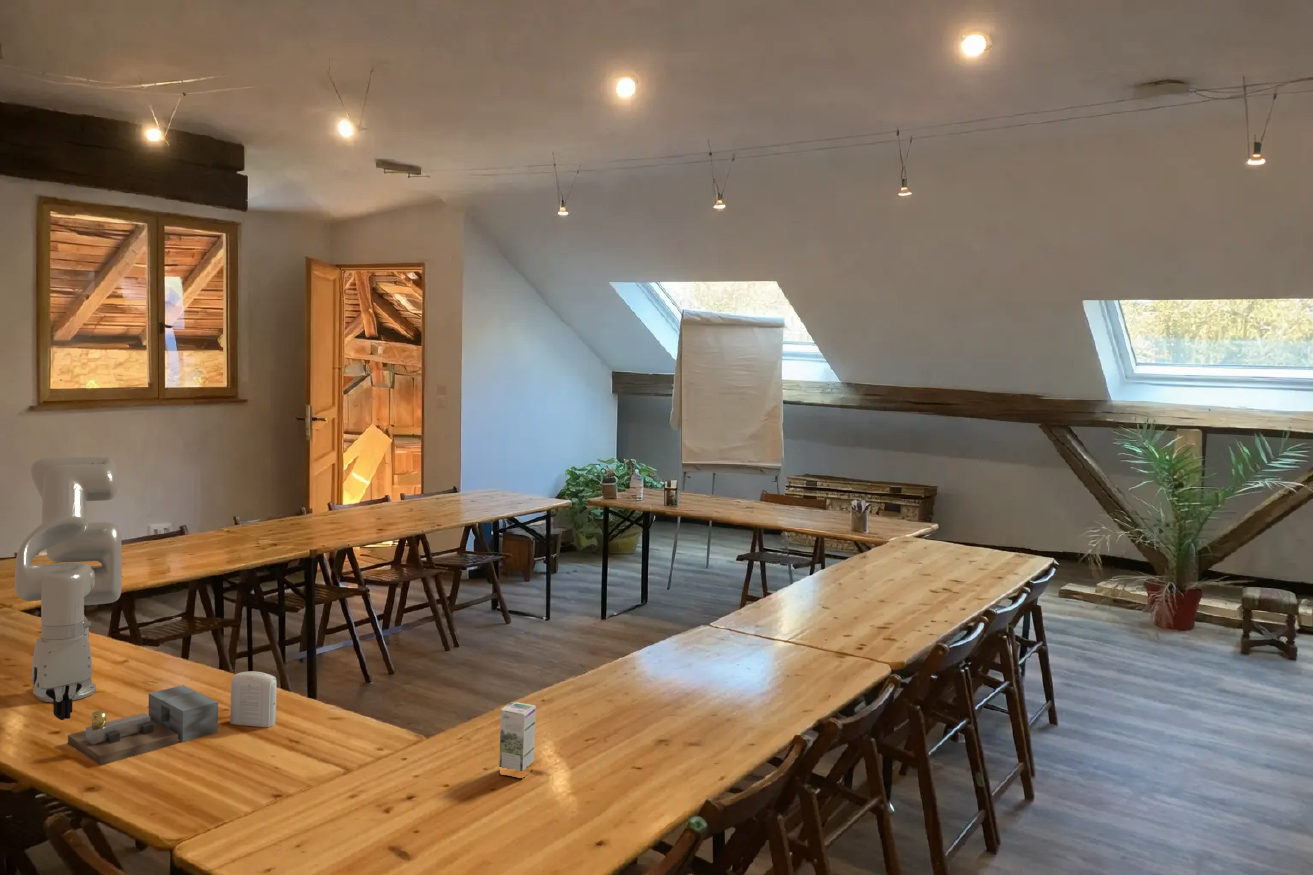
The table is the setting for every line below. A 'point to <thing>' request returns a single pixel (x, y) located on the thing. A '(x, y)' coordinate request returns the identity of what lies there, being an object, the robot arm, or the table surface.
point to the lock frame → (157, 726)
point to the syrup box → (517, 736)
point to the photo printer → (253, 699)
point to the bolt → (114, 726)
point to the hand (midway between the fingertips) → (62, 717)
